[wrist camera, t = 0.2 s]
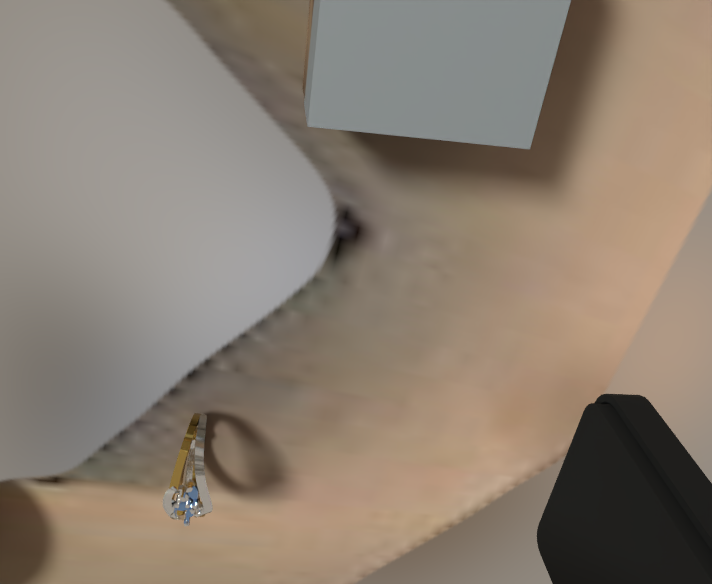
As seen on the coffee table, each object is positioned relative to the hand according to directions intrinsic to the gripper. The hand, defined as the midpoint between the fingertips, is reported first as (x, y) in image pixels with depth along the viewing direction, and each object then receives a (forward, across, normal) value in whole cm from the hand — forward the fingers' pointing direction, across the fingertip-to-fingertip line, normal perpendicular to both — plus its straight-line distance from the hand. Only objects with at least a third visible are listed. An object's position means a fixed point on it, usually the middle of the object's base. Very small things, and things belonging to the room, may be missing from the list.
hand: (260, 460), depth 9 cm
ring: (+31, +3, +28) cm, 42 cm away
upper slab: (+27, -8, -4) cm, 29 cm away
